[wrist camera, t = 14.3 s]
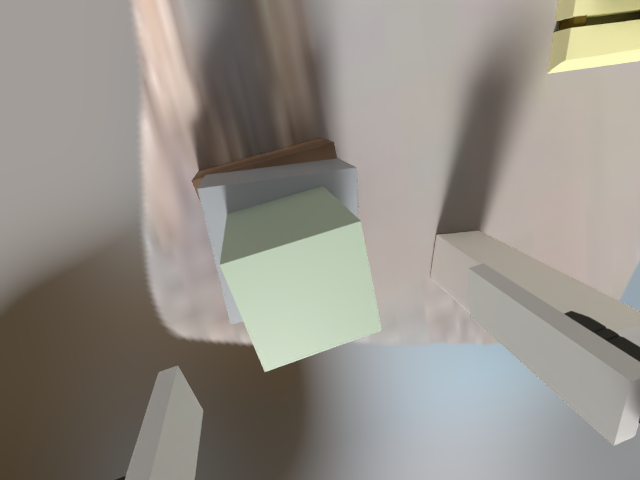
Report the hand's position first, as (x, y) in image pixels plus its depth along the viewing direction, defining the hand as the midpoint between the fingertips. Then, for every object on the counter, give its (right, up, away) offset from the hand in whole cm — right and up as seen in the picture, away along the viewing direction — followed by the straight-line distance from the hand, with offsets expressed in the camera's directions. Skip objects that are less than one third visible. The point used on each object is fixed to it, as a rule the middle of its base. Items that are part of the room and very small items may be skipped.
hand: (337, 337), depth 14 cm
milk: (+16, +3, +26) cm, 31 cm away
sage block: (-3, +4, +10) cm, 11 cm away
